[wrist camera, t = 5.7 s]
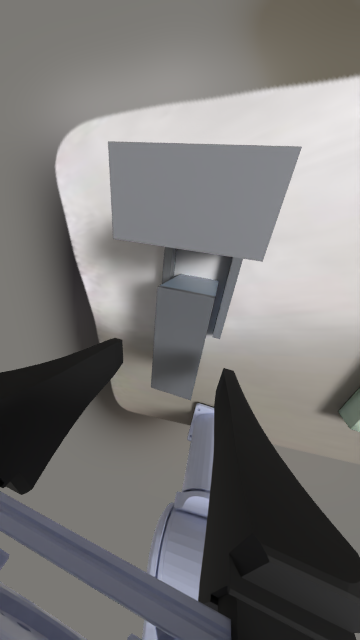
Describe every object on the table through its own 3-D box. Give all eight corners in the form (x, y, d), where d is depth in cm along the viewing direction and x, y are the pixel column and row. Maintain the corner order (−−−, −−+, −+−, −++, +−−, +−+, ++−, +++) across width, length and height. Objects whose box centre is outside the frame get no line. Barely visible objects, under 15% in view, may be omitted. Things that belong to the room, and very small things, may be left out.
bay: (220, 333, 18) (216, 397, 10) (162, 319, 19) (119, 367, 12) (255, 208, 13) (301, 146, 5) (173, 201, 14) (108, 141, 6)
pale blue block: (199, 361, 21) (189, 404, 15) (170, 353, 21) (150, 391, 16) (218, 280, 16) (214, 298, 10) (181, 273, 17) (157, 286, 11)
